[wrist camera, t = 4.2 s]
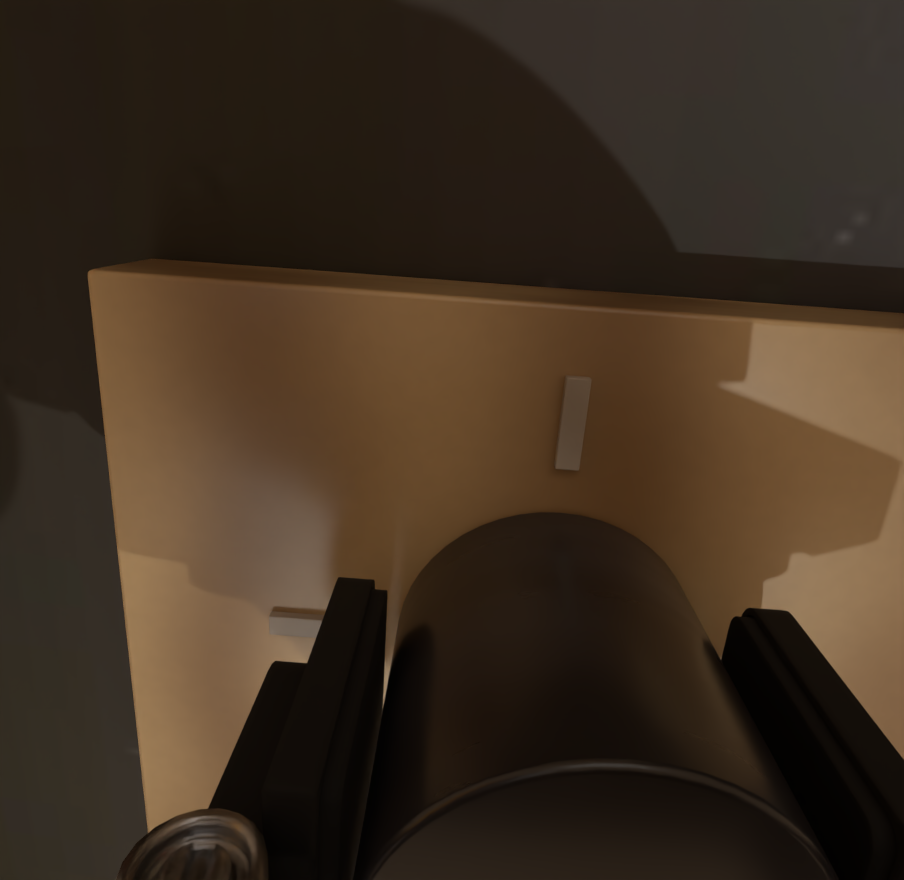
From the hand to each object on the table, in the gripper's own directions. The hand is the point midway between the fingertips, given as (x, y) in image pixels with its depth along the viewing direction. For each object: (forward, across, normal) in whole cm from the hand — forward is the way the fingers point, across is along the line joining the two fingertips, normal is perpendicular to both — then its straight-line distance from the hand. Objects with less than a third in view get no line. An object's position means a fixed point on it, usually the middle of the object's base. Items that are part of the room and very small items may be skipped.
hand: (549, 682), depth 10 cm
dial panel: (+3, 0, 0) cm, 3 cm away
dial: (+1, 0, 0) cm, 1 cm away
